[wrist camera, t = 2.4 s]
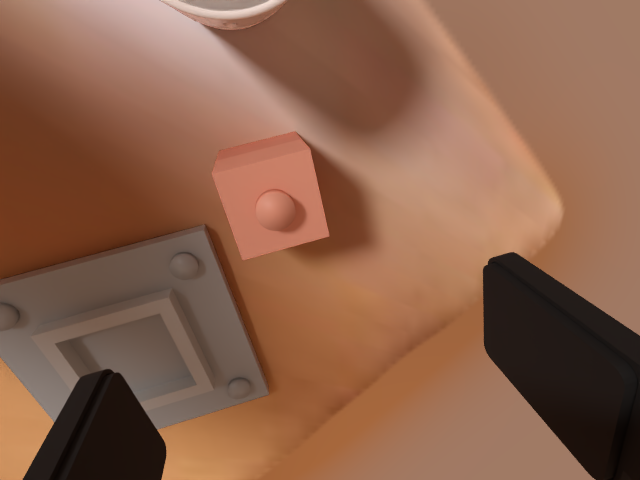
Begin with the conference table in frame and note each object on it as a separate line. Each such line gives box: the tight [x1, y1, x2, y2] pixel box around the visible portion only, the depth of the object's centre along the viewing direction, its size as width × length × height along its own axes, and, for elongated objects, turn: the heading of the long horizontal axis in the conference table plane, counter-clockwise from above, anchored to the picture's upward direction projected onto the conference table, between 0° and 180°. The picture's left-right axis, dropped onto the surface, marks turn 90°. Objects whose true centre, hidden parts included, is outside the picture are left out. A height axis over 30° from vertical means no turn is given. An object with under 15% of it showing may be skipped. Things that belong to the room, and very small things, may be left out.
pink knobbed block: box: [212, 132, 329, 260], centre depth 21 cm, size 5×5×7 cm
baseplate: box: [0, 225, 269, 429], centre depth 27 cm, size 16×16×2 cm
